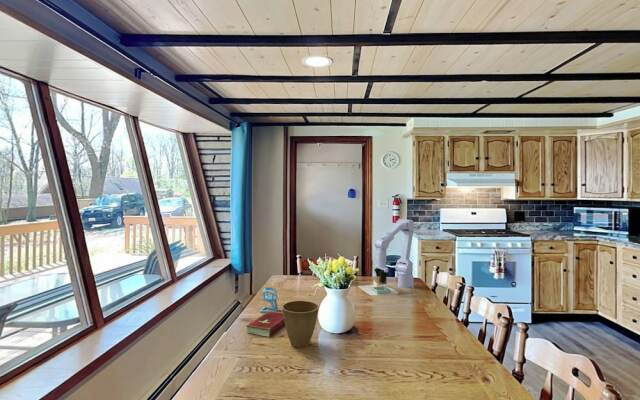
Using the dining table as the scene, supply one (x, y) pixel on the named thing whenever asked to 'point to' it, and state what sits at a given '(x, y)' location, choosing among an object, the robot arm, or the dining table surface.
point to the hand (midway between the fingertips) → (381, 281)
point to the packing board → (377, 290)
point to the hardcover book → (266, 324)
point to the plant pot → (300, 321)
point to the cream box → (377, 284)
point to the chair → (270, 300)
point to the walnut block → (378, 280)
